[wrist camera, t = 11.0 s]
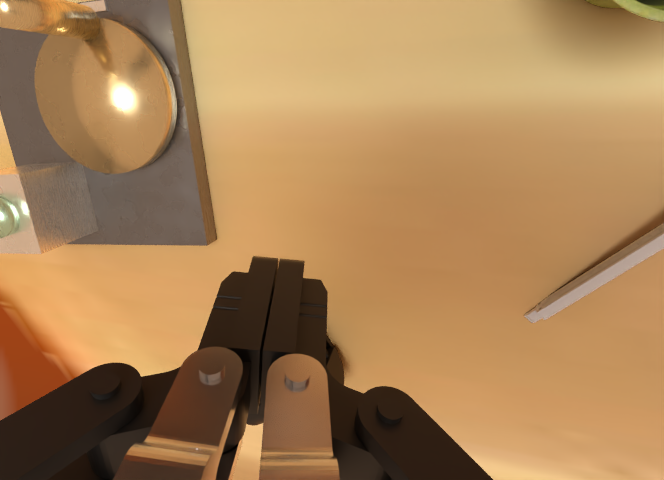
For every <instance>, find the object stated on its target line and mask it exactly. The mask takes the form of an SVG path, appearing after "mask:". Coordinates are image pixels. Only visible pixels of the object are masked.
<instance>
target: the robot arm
mask: <svg viewBox="0 0 664 480" xmlns="http://www.w3.org/2000/svg"><path fill="white" fill-rule="evenodd" d="M303 272H304V261H299V260H289V259H280V261H279V267H278V258H268V257H258V256H253V258H252V262H251V265H250V269H249V272H248V273H243V272H232V273H231V274H230V275H229V276H228V277H227V278H226V279H225V280H223V281H222V283H221V286H220V288H219V291H218V294H217V298H216V300H215V303H214V305H213V309H212V311H211V314H210V317H209V320H208V322H207V325H206V328H205V331H204V334H203V337H202V339H201V342H200V345H199V348H198V350H197V351H196V352H194V353H192V354H191V355H190V356H189V357H187V359H186V360H185V361H184V362H183V364H182V366H181V367H179V368H177V369H175V370H172V371H169V372H165V373H160V374H154V375H149V376H143V377H141V376H140V374H139V372H138V371H137V370H136V369H135V368H134V367H132V366H130V365H127V364H124V363H108V364H103V365H100V366H97V367H94V368H92V369H90V370H89V371H87V372H85V373H83V374H81V375H80V376H78V377H76V378H74V379H73V380H71V381H69V382H67V383H66V384H64V385H62V386H60V387H59V388H57V389H55V390H53V391H52V392H50V393H48V394H46V395H45V396H43V397H41V398H40V399H38V400H36V401H34V402H32V403H31V404H29V405H27V406H25V407H24V408H22V409H20V410H18V411H17V412H15V413H13V414H11V415H10V416H8V417H6V418H4V419H2V420H1V421H0V480H232V478H233V474H234V471H235V467H236V464H237V460H238V456H239V453H240V449H241V445H242V437H243V435H244V432H245V427H246V422H247V417H248V414H258V408H259V402H260V397H261V406H260V414H262V415H264V424H263V437H262V451H261V460H260V473H259V480H493V479H492V478H491V477H490V476H489V475H488V474H487V473H486V472H485V471H484V470H483V469H482V468H481V467H480V466H479V465H478V464H477V463H476V462H475V461H474V460H473V459H472V458H471V457H470V456H469V455H468V454H467V453H466V452H465V451H464V450H463V449H462V448H461V447H460V446H459V445H458V444H457V443H456V442H455V441H454V440H453V439H452V438H451V437H450V436H449V435H448V434H447V433H446V432H445V431H444V430H443V429H442V428H441V427H440V426H439V425H438V424H437V423H436V422H435V421H434V420H433V419H432V418H431V417H430V416H429V415H428V414H427V413H426V412H425V411H424V410H423V409H422V408H421V407H420V406H419V405H418V404H417V403H416V402H415V401H414V400H413V399H412V398H411V397H410V396H408V395H407V394H406V393H404V392H403V391H401V390H398V389H396V388H393V387H387V386H381V387H375V388H372V389H370V390H368V391H367V392H366V393H364V394H363V393H361V392H358V391H355V390H353V389H350V388H348V387H346V386H344V385H342V384H341V383H339V382H338V381H337V380H336V379H335V378H334V377H333V376H332V375H331V374H330V372H329V370H328V368H327V365H326V330H327V293H328V292H327V290H326V288H325V287H324V285H323V283H322V281H321V280H317V279H306V278H303Z"/></svg>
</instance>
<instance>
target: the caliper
mask: <svg viewBox="0 0 664 480" xmlns="http://www.w3.org/2000/svg"><path fill="white" fill-rule="evenodd" d="M663 248H664V223H662V224H661V225H659V226H657V227H656V228H654V229H653V230H651V231H650V232H648V233H646V234H645V235H643V236H642V237H640V238H639V239H637V240H636V241H634V242H632V243H631V244H629V245H628V246H626V247H625V248H623V249H621V250H620V251H618V252H617V253H615V254H614V255H612V256H610V257H609V258H607V259H606V260H604V261H603V262H601V263H599V264H598V265H596V266H595V267H593V268H592V269H590V270H588V271H587V272H585V273H584V274H582V275H580V276H579V277H577V278H576V279H574V280H573V281H571V282H569V283H568V284H566V285H565V286H563V287H561V288H560V289H558V290H557V291H555V292H554V293H552V294H551V295H549V296H548V297H547V298H545V299H544V300H543V301H541V302H540V303H539V304H538V305H536V307H535V308H534V309H532V310H530V311H529V312H527V313H526V314H525V315H524V316H525V317H526V318H527V319H528V320H529V321H530V322H531V323H533V322H534V323H535V322H537V321H538V320H540V319H542V318H543V319H544V320H546V319H547V318H549V317H551V316H552V315H554V314H556V313H557V312H559V311H561V310H562V309H564V308H566V307H567V306H569V305H571V304H572V303H574V302H576V301H577V300H579V299H581V298H582V297H584V296H586V295H587V294H589V293H591V292H592V291H594V290H596V289H597V288H599V287H601V286H602V285H604V284H606V283H607V282H609V281H611V280H612V279H614V278H615V277H617V276H619V275H620V274H622V273H624V272H625V271H627V270H629V269H630V268H632V267H634V266H635V265H637V264H639V263H640V262H642V261H644V260H645V259H647V258H649V257H650V256H652V255H654V254H655V253H657V252H658V251H660V250H662V249H663Z"/></svg>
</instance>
